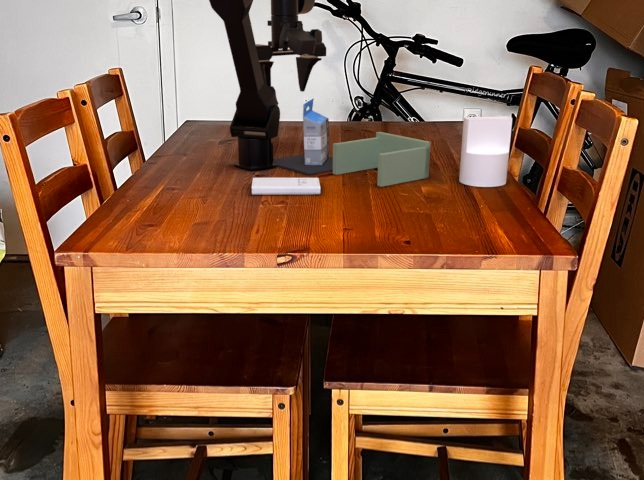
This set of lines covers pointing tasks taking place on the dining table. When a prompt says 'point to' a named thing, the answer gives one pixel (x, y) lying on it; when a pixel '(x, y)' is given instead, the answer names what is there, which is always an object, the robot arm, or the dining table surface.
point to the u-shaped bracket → (384, 158)
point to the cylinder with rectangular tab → (485, 151)
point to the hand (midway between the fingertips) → (285, 93)
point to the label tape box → (315, 136)
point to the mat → (303, 165)
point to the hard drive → (285, 186)
